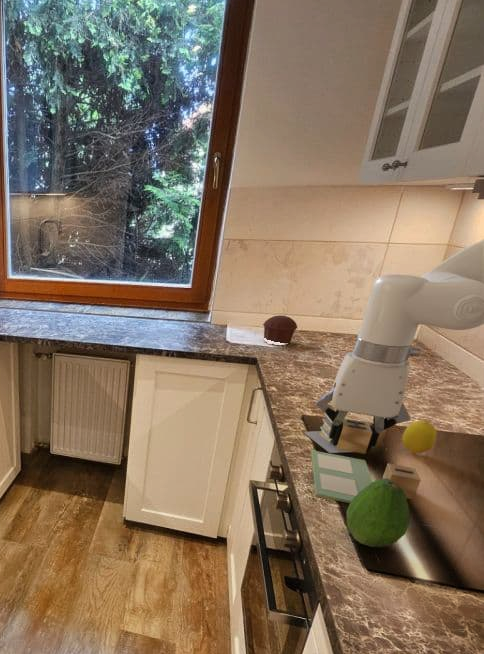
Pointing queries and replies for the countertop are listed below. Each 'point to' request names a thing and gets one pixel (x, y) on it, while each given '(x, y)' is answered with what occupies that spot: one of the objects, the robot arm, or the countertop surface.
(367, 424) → the light brown block
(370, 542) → the avocado
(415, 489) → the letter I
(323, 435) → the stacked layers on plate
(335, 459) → the word mat
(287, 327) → the muffin
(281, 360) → the countertop surface
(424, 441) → the lemon
